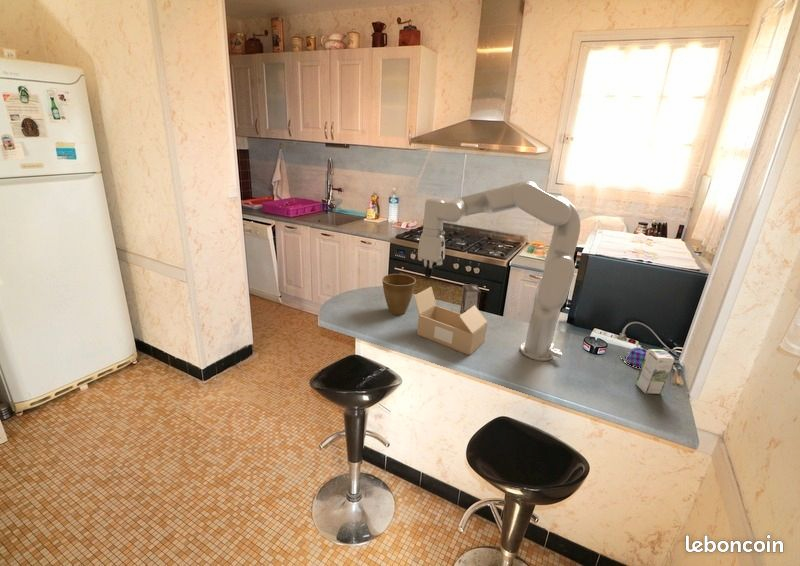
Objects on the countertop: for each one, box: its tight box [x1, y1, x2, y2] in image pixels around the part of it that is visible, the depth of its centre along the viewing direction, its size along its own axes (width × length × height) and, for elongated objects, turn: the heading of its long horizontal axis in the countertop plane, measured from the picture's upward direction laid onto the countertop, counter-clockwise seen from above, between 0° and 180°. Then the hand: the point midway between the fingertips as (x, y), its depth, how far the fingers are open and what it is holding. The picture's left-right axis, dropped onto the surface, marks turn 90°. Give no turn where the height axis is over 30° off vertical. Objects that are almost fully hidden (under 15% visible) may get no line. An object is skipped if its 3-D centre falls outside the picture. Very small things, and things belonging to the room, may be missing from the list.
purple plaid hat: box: [620, 347, 648, 370], centre depth 149 cm, size 12×12×5 cm
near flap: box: [459, 305, 488, 334], centre depth 149 cm, size 8×13×1 cm
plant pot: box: [381, 273, 417, 316], centre depth 176 cm, size 15×15×16 cm
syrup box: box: [635, 348, 675, 395], centre depth 131 cm, size 6×6×14 cm
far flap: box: [413, 286, 437, 315], centre depth 160 cm, size 8×13×1 cm
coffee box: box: [459, 283, 482, 314], centre depth 171 cm, size 9×6×16 cm
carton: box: [416, 304, 488, 356], centre depth 156 cm, size 24×13×9 cm, turn 54°
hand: (428, 276), depth 156 cm, fingers closed
